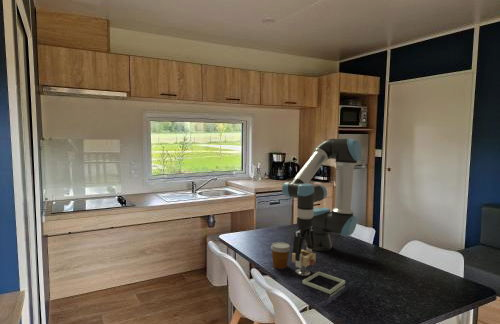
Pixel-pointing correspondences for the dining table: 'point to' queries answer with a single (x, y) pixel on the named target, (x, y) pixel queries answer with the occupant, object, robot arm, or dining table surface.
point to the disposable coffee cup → (280, 254)
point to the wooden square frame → (305, 258)
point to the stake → (302, 271)
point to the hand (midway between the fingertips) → (303, 264)
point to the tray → (323, 287)
